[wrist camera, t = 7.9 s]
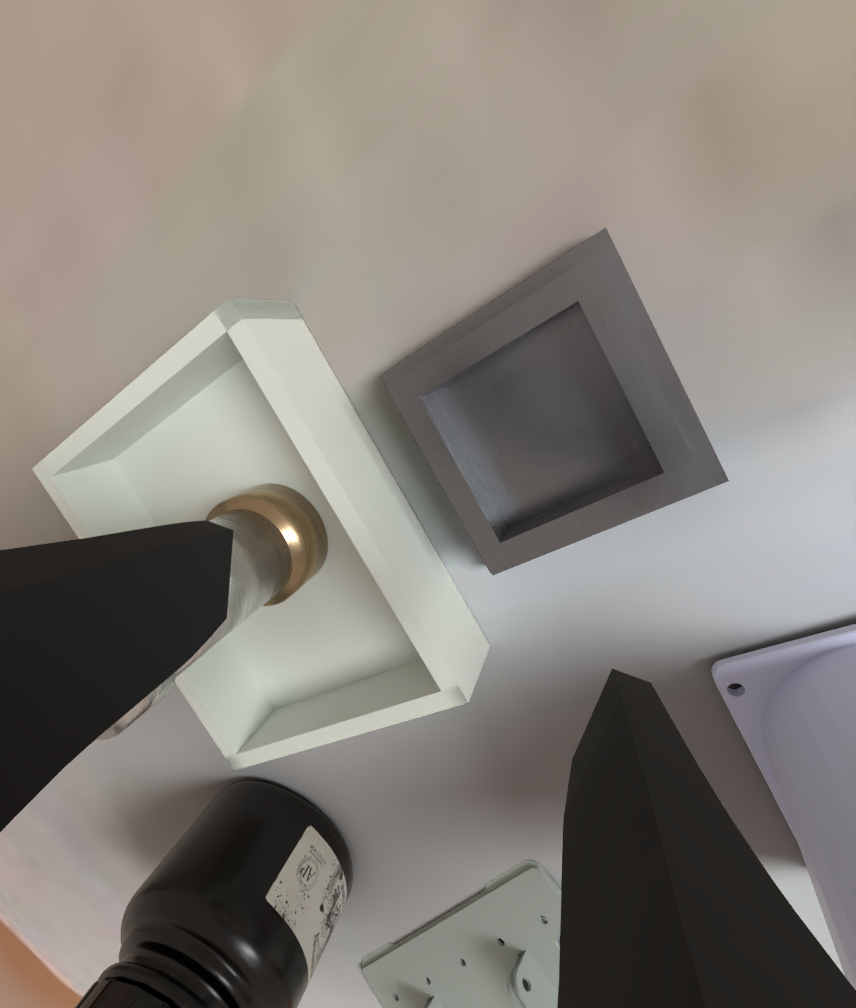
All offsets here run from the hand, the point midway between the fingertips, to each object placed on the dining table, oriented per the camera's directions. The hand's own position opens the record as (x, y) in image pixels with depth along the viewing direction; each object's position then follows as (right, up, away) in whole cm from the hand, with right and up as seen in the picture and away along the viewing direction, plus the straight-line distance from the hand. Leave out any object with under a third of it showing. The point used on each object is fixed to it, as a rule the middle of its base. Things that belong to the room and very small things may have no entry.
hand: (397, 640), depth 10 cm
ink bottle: (-7, -16, +20) cm, 26 cm away
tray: (-6, +1, +13) cm, 14 cm away
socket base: (+4, +5, +8) cm, 11 cm away
